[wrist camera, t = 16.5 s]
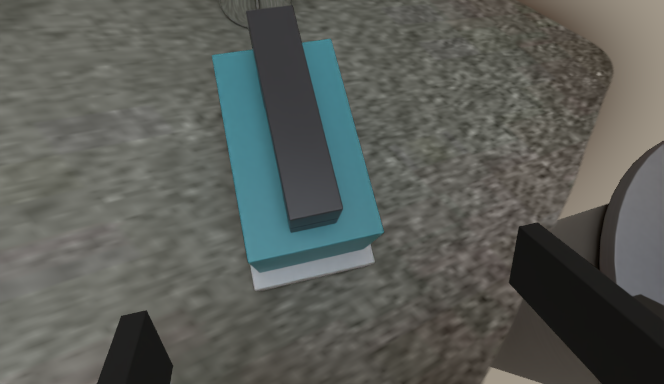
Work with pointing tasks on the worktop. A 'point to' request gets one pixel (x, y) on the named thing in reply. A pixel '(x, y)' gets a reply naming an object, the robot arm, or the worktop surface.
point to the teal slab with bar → (294, 155)
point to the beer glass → (247, 8)
